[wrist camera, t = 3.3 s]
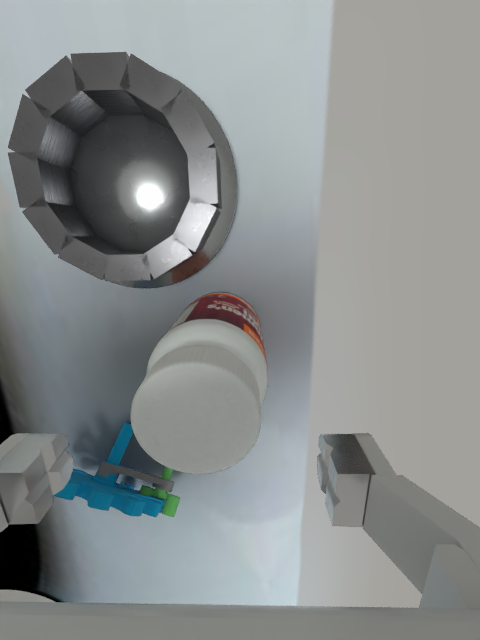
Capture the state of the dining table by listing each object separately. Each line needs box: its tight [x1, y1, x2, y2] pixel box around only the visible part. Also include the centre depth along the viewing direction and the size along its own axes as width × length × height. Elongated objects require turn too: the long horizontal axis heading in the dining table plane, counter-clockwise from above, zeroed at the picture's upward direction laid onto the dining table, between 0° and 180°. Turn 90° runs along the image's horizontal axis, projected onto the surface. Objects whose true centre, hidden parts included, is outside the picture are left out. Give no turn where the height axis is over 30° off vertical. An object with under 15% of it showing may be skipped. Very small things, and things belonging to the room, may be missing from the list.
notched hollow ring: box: [8, 52, 237, 288], centre depth 17 cm, size 13×13×4 cm
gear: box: [54, 423, 180, 517], centre depth 23 cm, size 11×6×10 cm
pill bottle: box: [131, 293, 268, 474], centre depth 16 cm, size 6×6×11 cm
